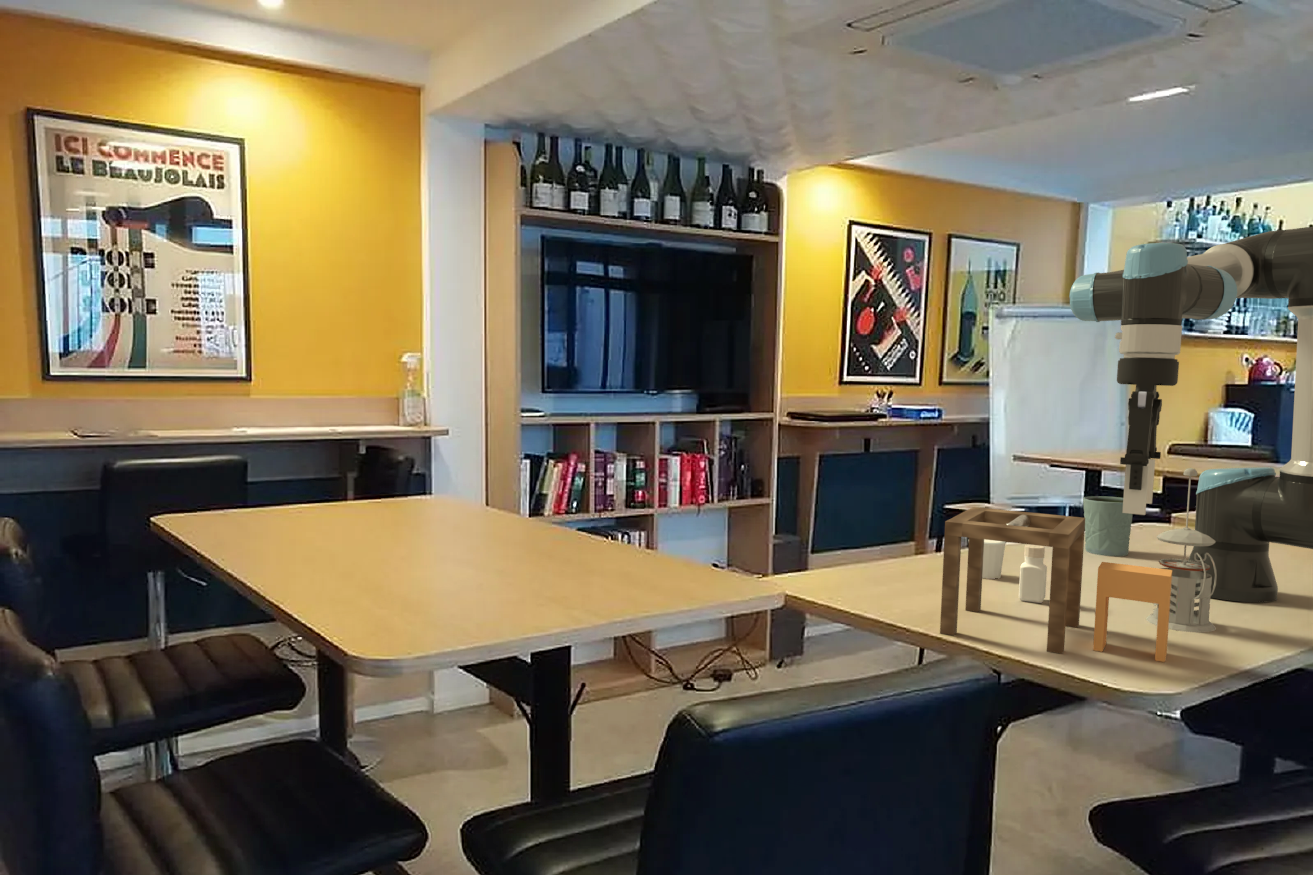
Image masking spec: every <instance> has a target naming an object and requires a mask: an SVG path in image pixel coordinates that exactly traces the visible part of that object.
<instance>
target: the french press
mask: <svg viewBox="0 0 1313 875" xmlns="http://www.w3.org/2000/svg"><path fill="white" fill-rule="evenodd" d="M1183 475H1184V476H1187V477H1189V478H1188V489H1187V490H1188V491H1187V503H1186V504H1187V506H1186V521H1185V527H1182V528H1174V529H1169V530H1166V531H1163V532H1161V533H1159V534H1157V536H1156V538H1157V540H1158V541H1161V542H1163V543H1167V544H1172V545H1179V546H1184V547H1183V548H1184V549H1183V550H1184V552H1183V559H1182V558H1162V559H1160V560H1158V564H1159V565H1161V566H1162V568H1159V567H1158V568H1159V569H1168V570H1172V582H1171V597H1170V612H1169V627H1168V630H1173V631H1180V632H1186V633H1187V632H1188V633H1189V632H1190V633H1208V632H1209V633H1210V632H1213V631H1216V626H1215V625H1214V624H1213V623H1212V621H1210V608H1211V604H1210V603H1211V597H1210V596H1211V595H1212V594H1213V592H1214V589H1215V586H1216V577H1217V574H1216V567H1215V564H1214V561H1213V559H1212V557H1211V556H1210V555H1209V553H1206V554H1205V558H1204V559H1203V560H1202V558H1201V556H1200V555H1199V554H1198V553H1195V554H1194V559H1195V561H1197V562H1193V561H1191V560H1190V561H1189V560H1188V559H1186V557H1187V546H1188V547H1189V546H1190V547H1194V546H1211V545H1213V544H1214V543H1215V540H1213V539H1212V538H1211V537H1210V536H1208V535H1205V534H1203V533H1201V532H1199V531H1196V530H1195V529H1191V528H1190V527H1188V526H1189V524H1188V523H1189V512H1190V511H1189V510H1190V496H1191V480H1192V477H1197V476H1198V470H1196V469H1195V468H1192V467H1190V468H1186V469H1185V470H1184V471H1183ZM1196 554H1197V555H1198V556H1199V558H1200V560H1197V559H1196ZM1206 555H1208V556H1209V557H1210V559H1211V561H1212V563H1213V566H1214V572H1215V580H1214V586H1213V590H1212V592H1211V584H1212V576H1211V575H1210V574H1208V573H1206V570H1209V569H1210V566H1209V565H1207V564H1206V563H1204V562H1203V561H1205V560H1206ZM1201 562H1202V563H1201ZM1200 571H1204V572H1200ZM1196 583H1201V585H1200V587H1196ZM1197 591H1200V594H1199V595H1198V594H1195V592H1197ZM1198 599H1199V600H1198ZM1196 600H1198V602H1195V601H1196ZM1156 606H1157V607H1156ZM1153 607H1156V608H1154V609H1153V610H1152V612H1153V613H1151V614H1149V615H1148V616H1146V618H1145V620H1146V621H1147V623H1149V624H1151V625H1155V626H1157V622H1158V607H1159V604H1156V603H1153ZM1197 607H1198V609H1196V610H1195V608H1197Z"/></svg>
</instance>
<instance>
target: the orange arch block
mask: <svg viewBox="0 0 1313 875" xmlns="http://www.w3.org/2000/svg"><path fill="white" fill-rule="evenodd" d="M1171 582H1172V570H1168V569H1159V567H1158V568H1157V567H1150V566H1140V565H1132V564H1123V563H1116V562H1115V563H1114V562H1106V561H1101V562H1100V564H1099V566H1098V567H1097V580H1096V583H1097V584H1096V599H1095V614H1094V628H1093V648H1092V650H1093V651H1095V652H1103V651H1104V649H1105V647H1106V645H1107V637H1108V623H1109V622H1108V620H1109V619H1108V618H1109V605H1110V603H1109V602H1110V598H1111V599H1113V598H1114V599H1119V600H1127V601H1135V602H1143V603H1150V604H1154V603H1156V604H1157V605H1158V604H1159V607H1158V622H1157V625H1156V638H1155V640H1156V642H1155V655H1154V661H1156V662H1161V663H1166V660H1167V652H1168V640H1169V629H1168V627H1169V612H1170V597H1171Z"/></svg>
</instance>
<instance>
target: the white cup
mask: <svg viewBox="0 0 1313 875" xmlns="http://www.w3.org/2000/svg"><path fill="white" fill-rule="evenodd" d="M968 542H969V539H968ZM1006 543H1007V542H1003V541H995V540H986V539H984V552H983V572H982V579H983V578H987V579H986V580H994V579H995V578H998V579H1000V578H1001V575H1002V569H1003V562H1004V555H1005V549H1006ZM995 580H996V579H995Z"/></svg>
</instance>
